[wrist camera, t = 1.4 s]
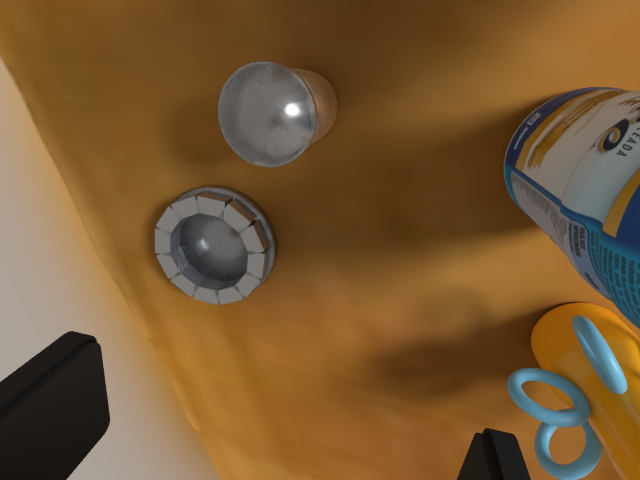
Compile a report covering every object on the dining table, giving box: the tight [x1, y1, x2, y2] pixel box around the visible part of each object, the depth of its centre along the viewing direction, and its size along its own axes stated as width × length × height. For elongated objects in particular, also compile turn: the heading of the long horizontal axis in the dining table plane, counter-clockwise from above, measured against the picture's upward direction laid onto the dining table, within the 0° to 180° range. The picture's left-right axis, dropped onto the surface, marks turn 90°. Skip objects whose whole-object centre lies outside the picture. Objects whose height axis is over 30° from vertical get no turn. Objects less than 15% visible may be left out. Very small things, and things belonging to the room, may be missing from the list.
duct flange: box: [155, 185, 277, 305], centre depth 29 cm, size 9×9×2 cm
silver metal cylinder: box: [218, 61, 338, 167], centre depth 21 cm, size 5×5×8 cm
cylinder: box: [507, 302, 640, 480], centre depth 21 cm, size 12×10×15 cm
